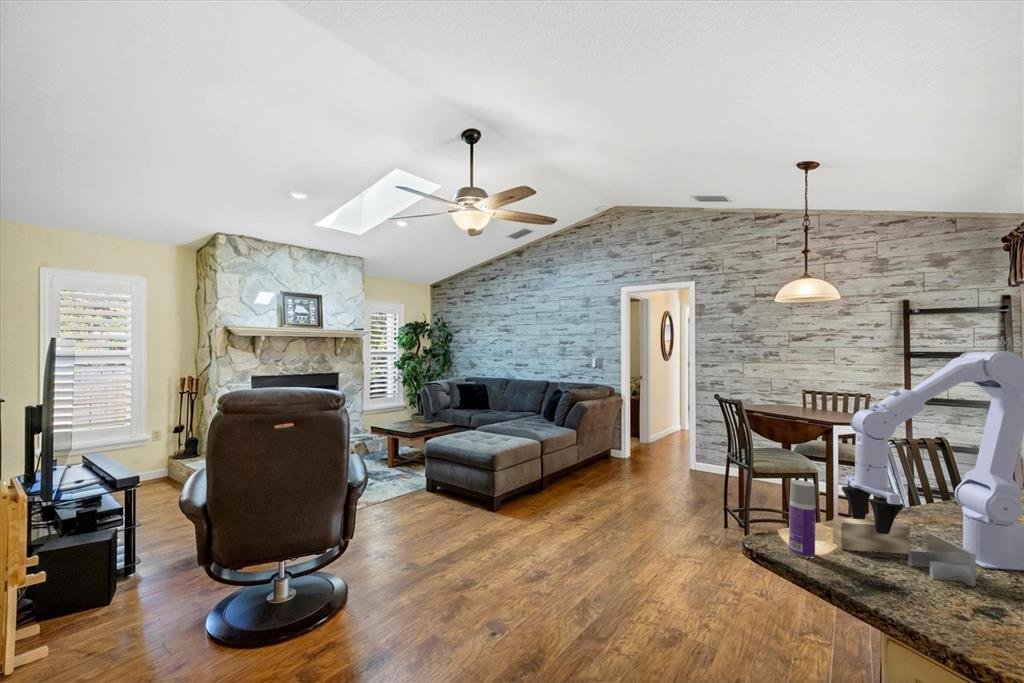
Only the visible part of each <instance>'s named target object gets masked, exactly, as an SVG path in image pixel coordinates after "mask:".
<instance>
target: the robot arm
mask: <svg viewBox="0 0 1024 683" xmlns="http://www.w3.org/2000/svg"><path fill="white" fill-rule="evenodd" d="M963 383H974V384H975V385H978V387H981V389H982V390H984V391H985V392H986V394H988V396H990V397H991V400H990V405H989V409H988V414H987V417H986V421H985V425H984V429H983V434H982V437H981V441H980V446H979V450H978V454H977V458H976V461H975V467H973V469H971V470H969V471H967V472H965V473H964V475H963V477H962V478H963V479H962V481H961V482H960V483H959V484H958V485H957V486H956V487H955V490H954V498H955V500H956V502H957V503H958V504H959V505H960V506H961V511H962V516H963V517H962V548H964V549H966V550H968V551H970V552H973V553H975V554H976V565H978V566H980V567H981V568H984V569H985V568H986V569H995V570H999V569H1000V570H1010V571H1011V570H1012V571H1024V525H1023V524H1022V523H1020V522H1019V520H1020V519H1021V518H1022V517H1023V513H1024V506H1023V502H1022V498H1021V497H1022V493H1023V491H1022V489H1021V488H1020V486H1019V485H1018V484H1017V482H1016V481H1015V480H1014V479H1013V478H1014V477H1013V476H1014V472H1015V469H1016V468H1015V467H1016V463H1017V459H1018V456H1019V451H1020V448H1021V443H1022V441H1023V440H1022V439H1023V436H1024V359H1023V358H1021V356H1019V355H1018V354H1017V353H1015V352H1013V351H1008V350H1001V351H976V350H975V351H974V350H971V351H966V352H964V353H962V354H961V355H960V356H959V357H955V358H952V359H951V360H950V361H949V362H948V363H947V364H946V365H944V367H942V368H941V369H939V370H938V371H936V372H935V373H933V374H932V375H930V376H929V377H928V378H926V379H925V380H923V381H922V382H920V383H919V384H917V385H915V386H914V387H913V388H911V389H904V388H900V389H898V390H896V389H893V390H891V391H889V392H888V396H887V397H886V398H883V399H882V400H880V401H879V402H877V403H871V404H870V405H869V409H861V410H859V411H856V412H855V414H854V415H853V417H852V419H850V421H849V422H850V423H849V424H850V426H851V428H852V430H853V431H854V432H855V443H854V444H855V448H854V449H855V450H854V455H855V456H854V475H845V478H844V479H845V480H844V483H845V484H846V485H847V486H841V490H842V492H843V494H844V496H845V497H846V500H847V502H848V504H849V505H848V506H849V508H850V514H851V516H852V519H864V520H866V515H867V509H868V508H867V507H868V503H869V504H870V506H871V508H872V511H873V517H874V520H875V528H876V532H877V533H879V534H889V532H890V529H891V526H892V524H893V521H895V519H896V517H897V516H898V514H899V513H900V512H901V511H902V510H903V508H904V504H903V503H901V494H898V493H897V492H895V491H894V490H892V489H891V488H890V487H889V486H888V483H889V479H888V478H889V437H892V436H893V434H894V433H895V431H896V430H897V427H898V426H899V425H901V424H903V423H905V422H906V421H908V420H910V419H911V418H913V417H915V416H916V415H918V414H920V413H921V412H923V411H924V409H925V404H926V402H927V401H930V400H931V399H933V398H935V397H937V396H939V395H941V394H943V393H944V392H947V391H948V390H951V389H952V388H954V387H956V386H958V385H960V384H963ZM871 495H872V496H874V497H877V498H876V499H875V498H871ZM878 498H879V499H878Z"/></svg>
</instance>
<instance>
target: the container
mask: <svg viewBox="0 0 1024 683" xmlns="http://www.w3.org/2000/svg"><path fill="white" fill-rule="evenodd" d="M789 491H790V492H789V510H788V511H789V512H788V513H789V515H788V516H789V521H788V523H789V526H788V527H789V529H788V535H789V536H788V551H789V550H790V551H791V552H792V553H794V554H796V555H798V556H801V557H808V558H811V557H814V556H816V514H817V513H816V511H817V510H816V507H817V506H816V484H815V483H813V482H810V481H806V480H799V479H793V480H790V490H789ZM798 556H797V557H798ZM801 557H800V558H801ZM808 558H807V559H808ZM814 558H815V557H814ZM811 559H812V558H811Z"/></svg>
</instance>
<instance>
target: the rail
mask: <svg viewBox="0 0 1024 683" xmlns="http://www.w3.org/2000/svg"><path fill="white" fill-rule="evenodd" d="M833 543H834V544H836V545H837V546H838V547H840V548H841V549H846V550H845V551H855V550H857V551H856V552H858V551H859V552H872V551H874V552H876V553H889V554H890V553H892V554H907V555H908V549H911V526H909V525H907V524H906V523H905V522H904V523H903V522H901V521H898V520H896V521H895V520H894V521H893V524H892V526H891V529H890V532H889V534H879V533H877V532H876V528H875V519H865V520H864V519H853V518H842V517H833V518H832V544H833ZM834 544H833V545H834ZM837 546H836V547H837ZM838 547H837V548H838ZM841 549H840V550H841ZM874 552H873V553H874Z"/></svg>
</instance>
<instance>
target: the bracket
mask: <svg viewBox="0 0 1024 683" xmlns="http://www.w3.org/2000/svg"><path fill="white" fill-rule="evenodd" d="M907 555H908V556H907V559H908V560H907V562H908V564H907V565H909V566H910V567H921V568H922V567H924V568H929V578H931V579H932V580H942V581H944V580H945V581H957V582H958V581H960V582H963V583H965V584H966V585H968V586H970V587H976V569H977V568H976V565H977V564H976V554H975V553H973V552H970V551H968V550H966V549H964V548H963V546H960V545H958V544H956V543H954V542H952V541H950V540H947V539H945V538H943V537H941V536H940V535H937V534H935V533H934V532H926V550H925V549H911V548H910V549H908V554H907Z"/></svg>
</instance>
